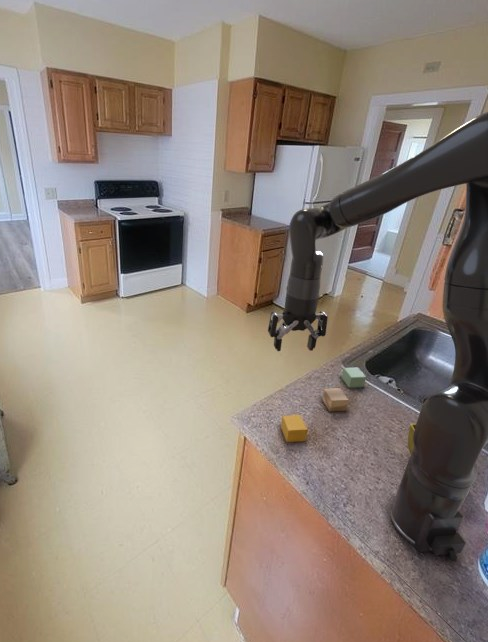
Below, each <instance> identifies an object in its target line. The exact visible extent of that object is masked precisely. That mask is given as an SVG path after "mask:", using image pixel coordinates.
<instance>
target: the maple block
mask: <svg viewBox="0 0 488 642" xmlns="http://www.w3.org/2000/svg"><path fill="white" fill-rule="evenodd" d="M321 400H322V402H323V403H324V405H325V407H326V408H327V410H328V412H344V411H347V408H348V403H349V399H348V397H347V396H346V394H345V393H344V391H343V390H342V389H341V388H340V387H338V388H337V387H336V388H335V387H334V388H324V389H323V393H322V398H321Z"/></svg>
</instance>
